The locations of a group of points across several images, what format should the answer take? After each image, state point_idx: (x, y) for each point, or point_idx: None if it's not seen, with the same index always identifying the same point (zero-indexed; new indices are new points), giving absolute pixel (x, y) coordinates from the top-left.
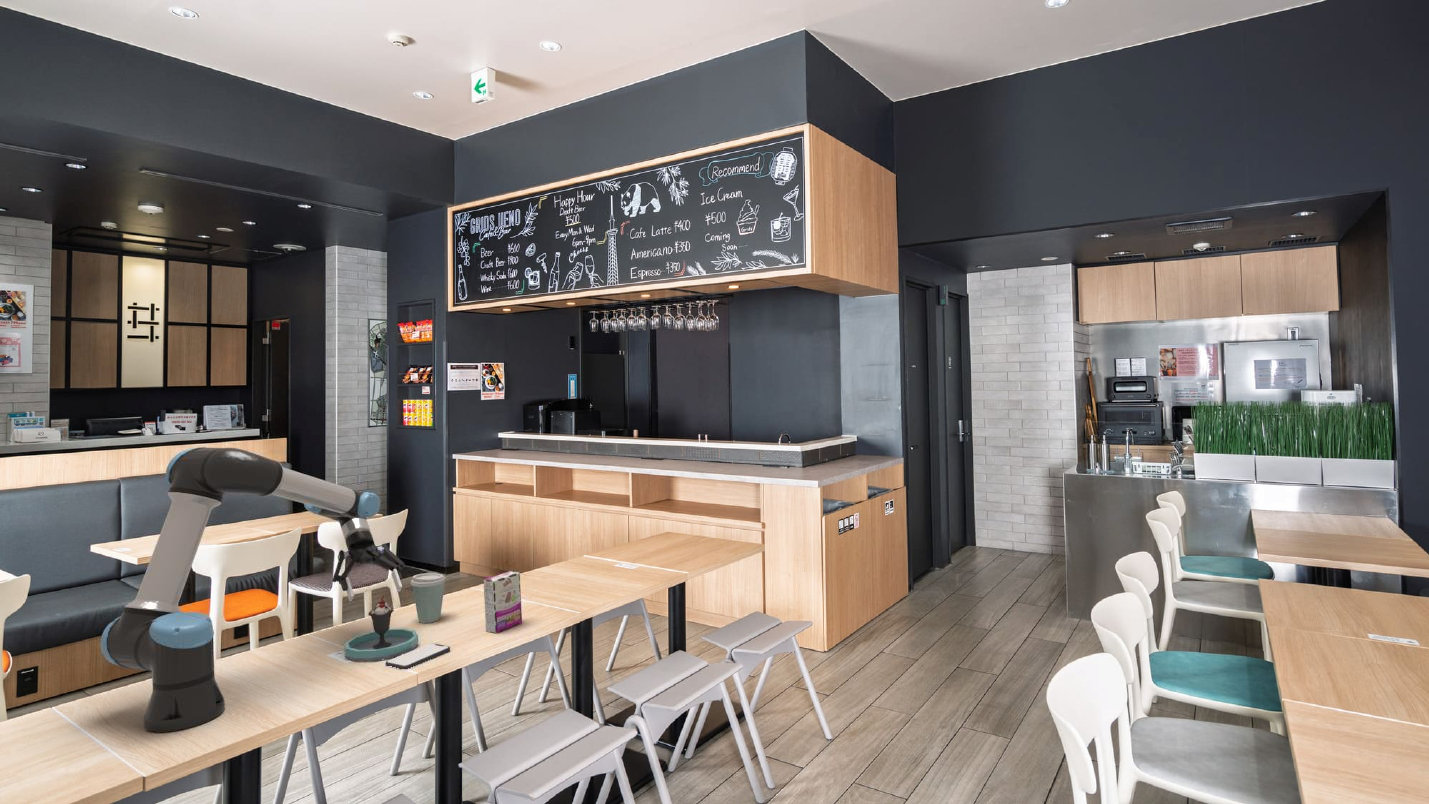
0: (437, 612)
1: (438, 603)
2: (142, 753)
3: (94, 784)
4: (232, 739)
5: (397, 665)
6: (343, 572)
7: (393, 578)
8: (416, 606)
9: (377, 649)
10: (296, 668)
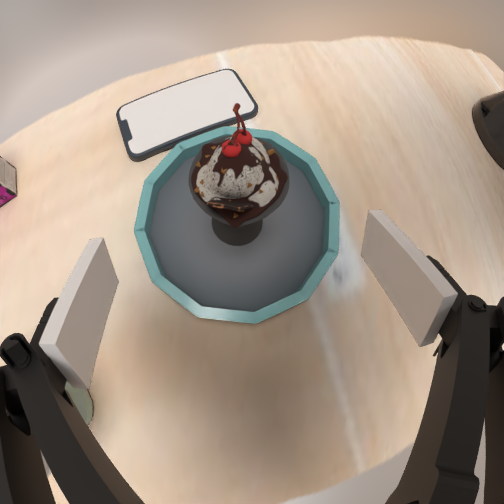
0: None
1: None
2: (493, 87)
3: (494, 67)
4: (436, 48)
5: (241, 80)
6: (489, 333)
7: (94, 347)
8: None
9: (268, 137)
10: (422, 229)
